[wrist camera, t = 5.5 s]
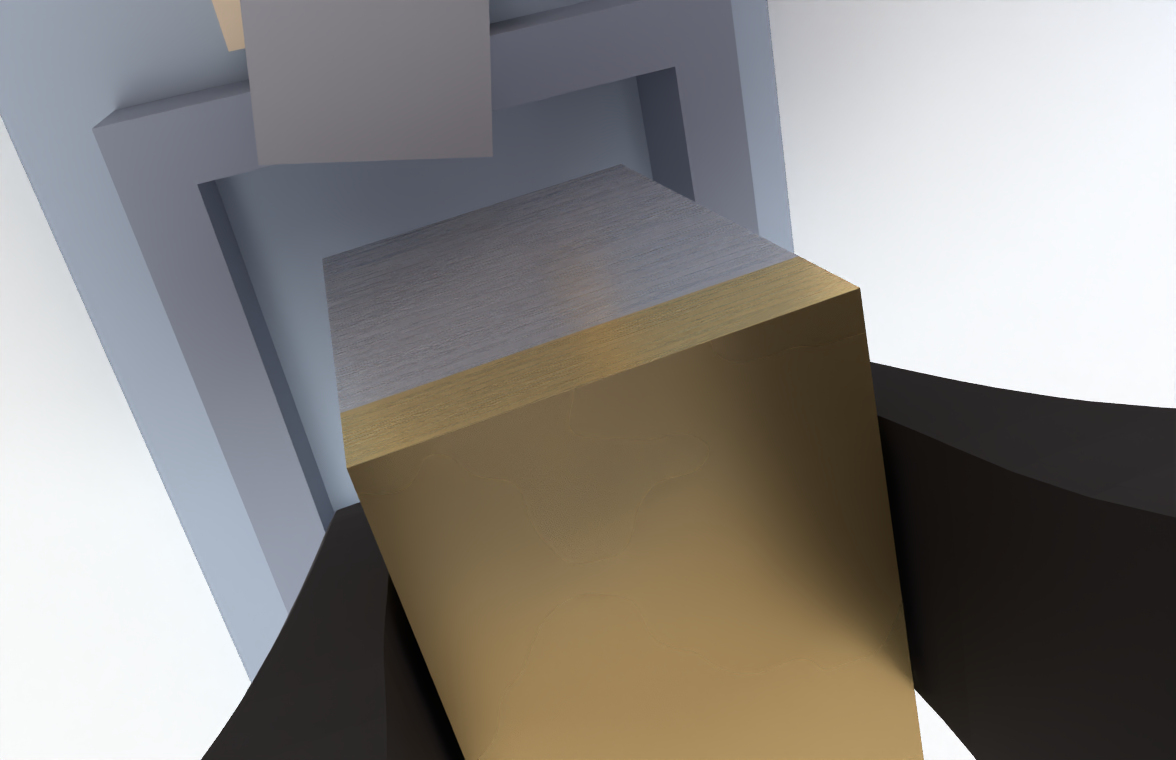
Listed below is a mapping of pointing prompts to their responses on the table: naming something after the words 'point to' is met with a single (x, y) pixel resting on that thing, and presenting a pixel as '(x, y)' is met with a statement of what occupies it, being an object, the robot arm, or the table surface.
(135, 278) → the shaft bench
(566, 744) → the tan and white block
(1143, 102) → the table surface
